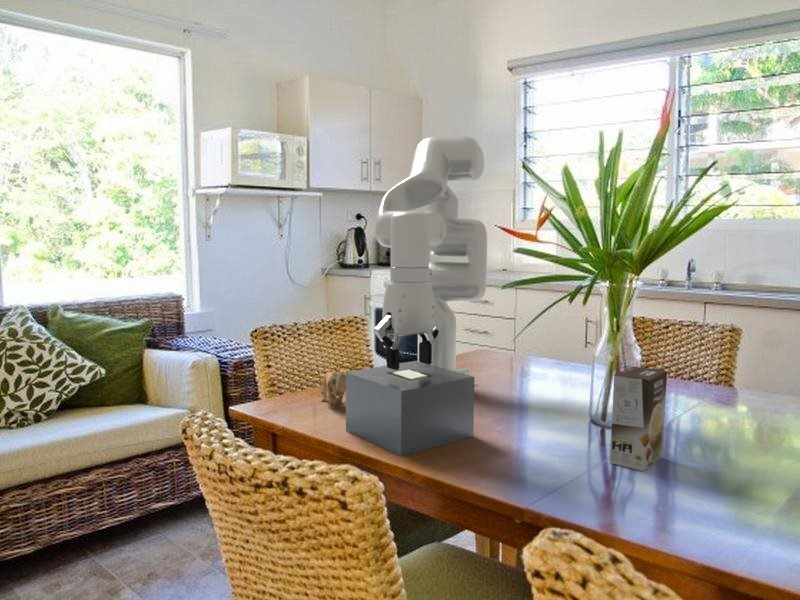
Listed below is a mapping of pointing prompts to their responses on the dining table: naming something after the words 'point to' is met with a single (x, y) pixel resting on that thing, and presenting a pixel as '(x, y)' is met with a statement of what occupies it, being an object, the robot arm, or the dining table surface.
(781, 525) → the dining table surface
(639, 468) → the coffee box
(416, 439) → the box
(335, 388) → the tan spotted animal figure
